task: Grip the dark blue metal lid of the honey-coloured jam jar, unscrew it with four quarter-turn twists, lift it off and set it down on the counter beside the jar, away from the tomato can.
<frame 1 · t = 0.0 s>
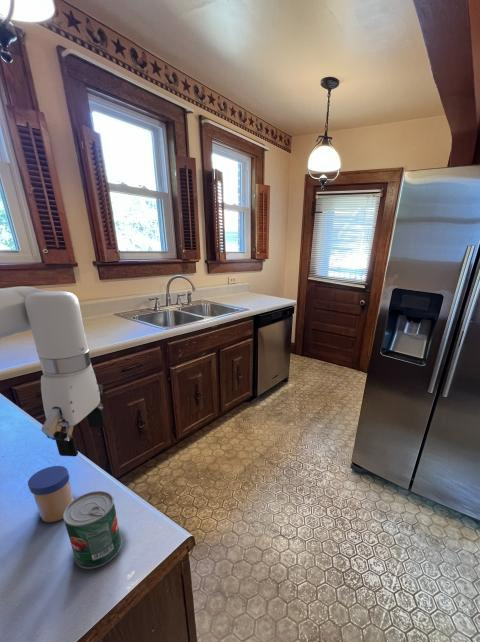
hand: (84, 440, 63), 18 cm above the counter, tool pointing down, fingers open, 9 cm apart
canned tomato: (99, 550, 60), on the counter
jar lid: (48, 478, 64), point 9 cm above the counter, screwed on, not yet turned
jam jar: (58, 510, 68), on the counter
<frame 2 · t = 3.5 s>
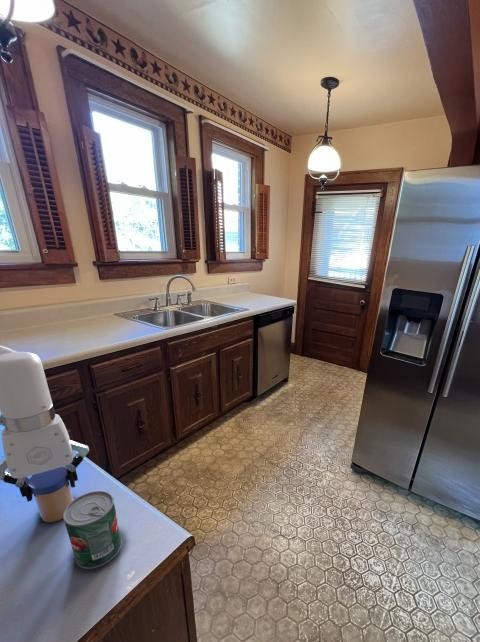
hand: (52, 489, 66), 6 cm above the counter, tool pointing down, fingers closed on jar lid, 6 cm apart
jar lid: (48, 478, 64), point 9 cm above the counter, screwed on, not yet turned, touching gripper
everything else where it was.
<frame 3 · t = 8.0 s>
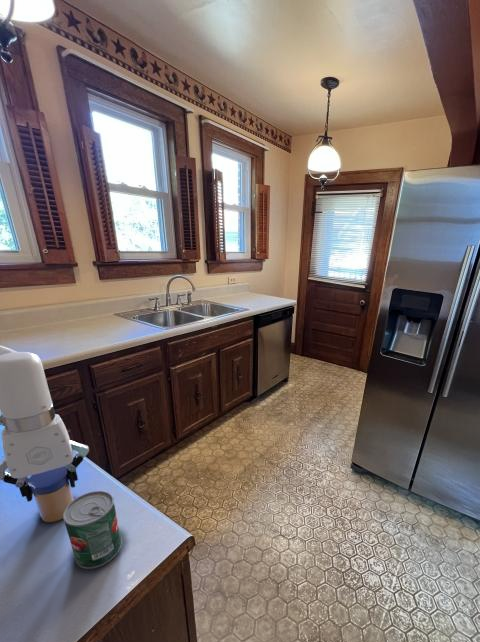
hand: (52, 489, 66), 6 cm above the counter, tool pointing down, fingers closed on jar lid, 6 cm apart
jar lid: (48, 477, 64), point 9 cm above the counter, turned 88° so far, risen 0.1 cm, still on its thread, touching gripper
everything else where it was.
when the fingers open (5 cm above the counter, at t = 10.2 s): jar lid stays where it is, point 9 cm above the counter.
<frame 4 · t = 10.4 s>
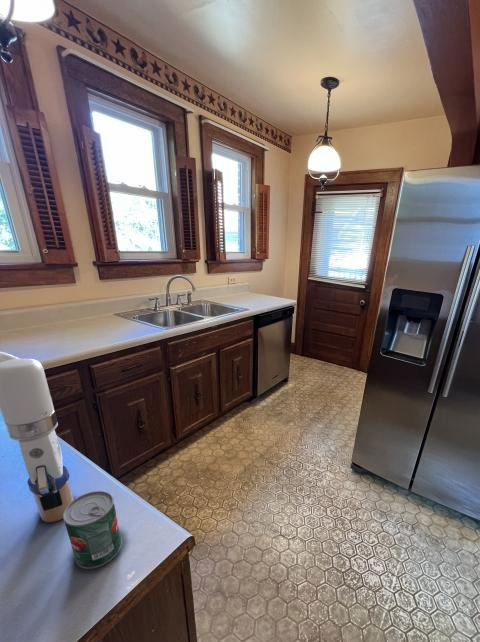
hand: (53, 492, 66), 5 cm above the counter, tool pointing down, fingers open, 8 cm apart
jar lid: (48, 477, 64), point 9 cm above the counter, turned 175° so far, risen 0.2 cm, still on its thread
everything else where it was.
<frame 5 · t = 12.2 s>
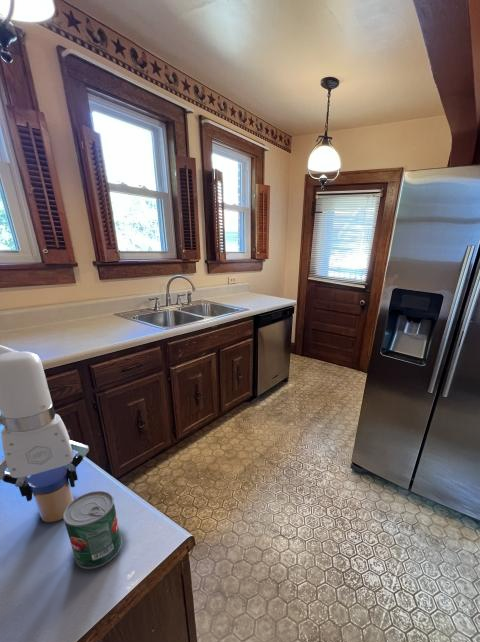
hand: (52, 489, 66), 6 cm above the counter, tool pointing down, fingers closed on jar lid, 6 cm apart
jar lid: (48, 477, 64), point 9 cm above the counter, turned 175° so far, risen 0.2 cm, still on its thread, touching gripper
everything else where it was.
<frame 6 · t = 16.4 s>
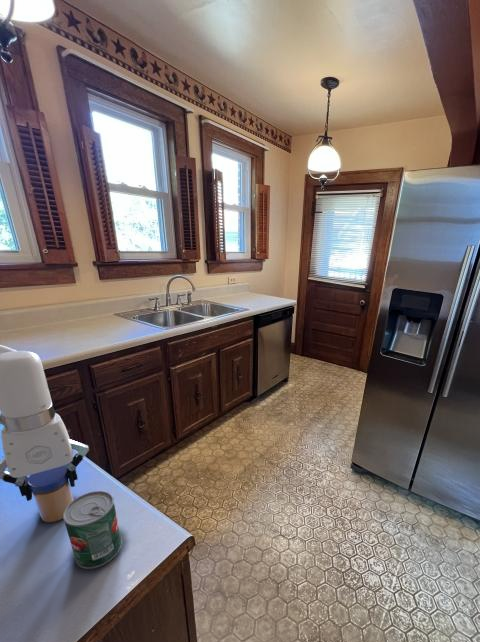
hand: (51, 488, 66), 6 cm above the counter, tool pointing down, fingers closed on jar lid, 6 cm apart
jar lid: (48, 476, 64), point 9 cm above the counter, turned 263° so far, risen 0.4 cm, still on its thread, touching gripper
everything else where it was.
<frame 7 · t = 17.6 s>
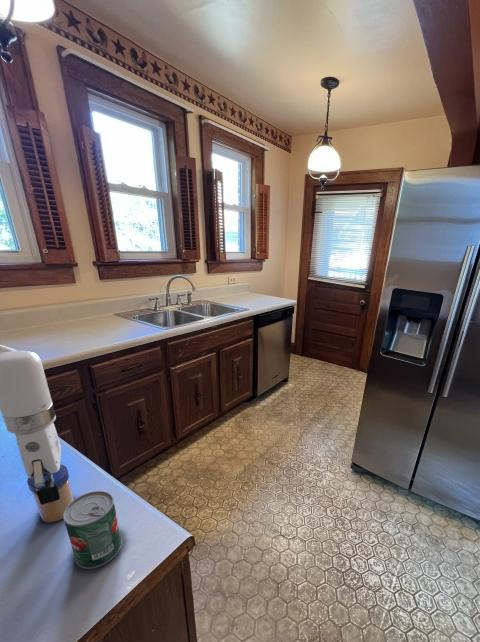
hand: (51, 488, 66), 6 cm above the counter, tool pointing down, fingers closed on jar lid, 6 cm apart
jar lid: (48, 476, 64), point 9 cm above the counter, off its thread, touching gripper
everything else where it was.
when the fingers open (0 cm above the counter, at t = 25.7 s): jar lid drops 2 cm, point 1 cm above the counter.
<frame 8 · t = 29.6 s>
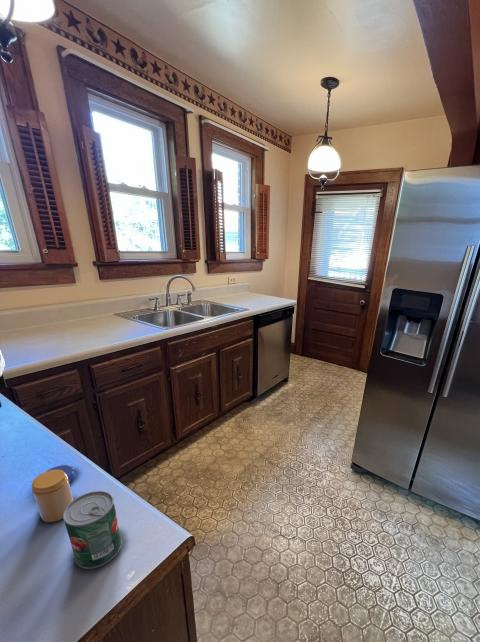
jar lid: (57, 475, 76), point 1 cm above the counter, off its thread
everything else where it was.
at the end: jar lid inside the target area (0.2 cm from its centre), point 1.3 cm above the counter; jar lid point 1.3 cm above the counter; the gripper is holding nothing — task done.
